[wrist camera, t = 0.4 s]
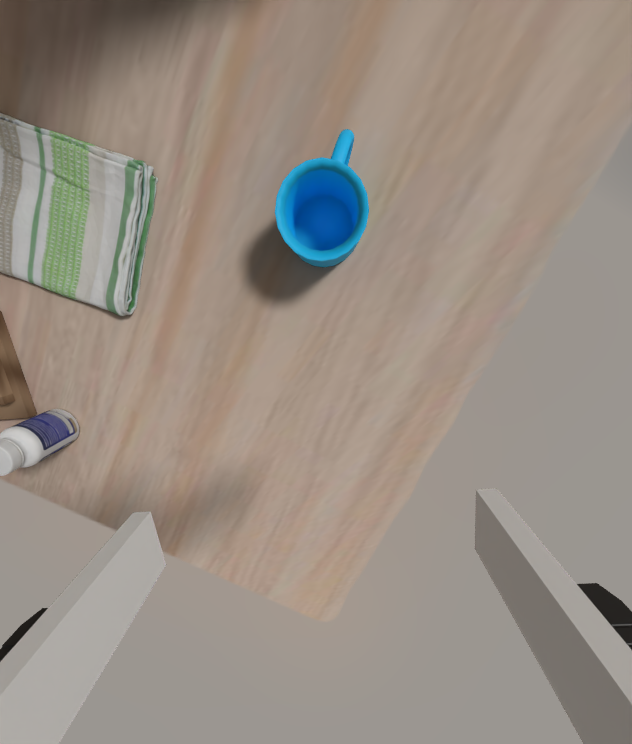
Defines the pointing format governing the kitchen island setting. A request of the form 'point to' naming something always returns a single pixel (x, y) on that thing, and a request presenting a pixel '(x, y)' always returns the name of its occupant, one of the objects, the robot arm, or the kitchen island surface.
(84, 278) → the dish towel
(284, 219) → the mug
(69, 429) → the pill bottle
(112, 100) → the kitchen island surface
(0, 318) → the cradle
